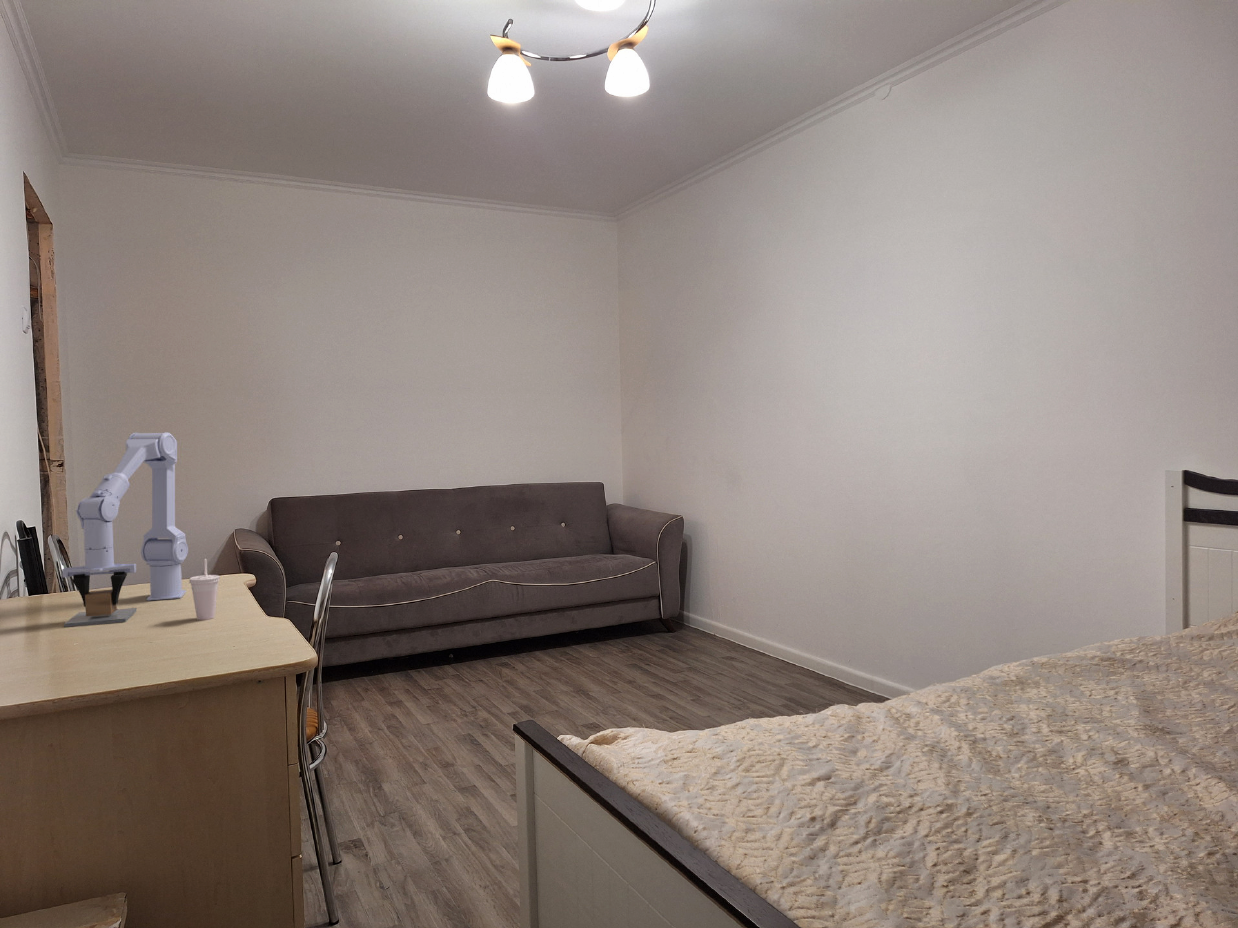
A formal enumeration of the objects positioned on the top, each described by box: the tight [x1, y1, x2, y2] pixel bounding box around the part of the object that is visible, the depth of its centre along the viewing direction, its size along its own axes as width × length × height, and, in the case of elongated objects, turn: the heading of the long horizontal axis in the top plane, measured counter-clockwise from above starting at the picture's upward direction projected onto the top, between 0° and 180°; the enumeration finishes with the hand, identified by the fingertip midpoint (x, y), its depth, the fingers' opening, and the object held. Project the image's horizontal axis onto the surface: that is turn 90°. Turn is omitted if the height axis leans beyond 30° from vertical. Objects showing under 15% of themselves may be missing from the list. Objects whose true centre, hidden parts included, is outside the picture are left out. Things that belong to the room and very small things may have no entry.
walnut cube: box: [85, 589, 117, 616], centre depth 187 cm, size 5×5×5 cm
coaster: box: [63, 607, 137, 628], centre depth 188 cm, size 12×12×1 cm
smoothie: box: [188, 558, 220, 621], centre depth 187 cm, size 6×6×14 cm
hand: (101, 604), depth 187 cm, fingers closed on walnut cube, 5 cm apart
